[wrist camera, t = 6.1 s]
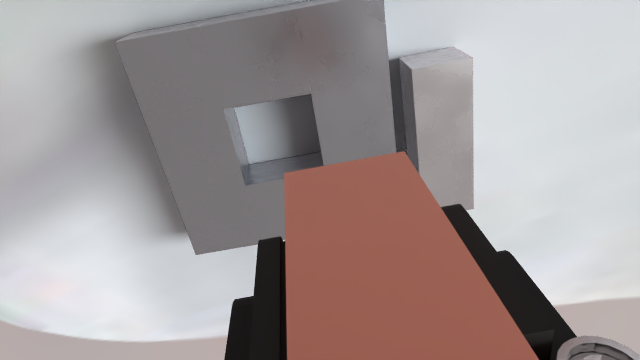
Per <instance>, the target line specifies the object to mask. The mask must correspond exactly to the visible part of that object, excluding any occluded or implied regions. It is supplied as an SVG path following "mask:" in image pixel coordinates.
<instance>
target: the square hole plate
mask: <svg viewBox="0 0 640 360" xmlns="http://www.w3.org/2000/svg"><path fill="white" fill-rule="evenodd" d="M115 45H116V48H117V50H118V53H119V55H120V58H121V61H122V63H123V66H124V68H125V71H126V74H127V76H128V79H129V81H130V84H131V87H132V89H133V92H134V95H135V97H136V100H137V102H138V105H139V108H140V110H141V113H142V115H143V118H144V121H145V123H146V126H147V128H148V131H149V134H150V136H151V139H152V142H153V144H154V147H155V149H156V152H157V155H158V157H159V160H160V162H161V165H162V168H163V170H164V173H165V175H166V178H167V181H168V183H169V186H170V189H171V191H172V194H173V196H174V199H175V202H176V204H177V207H178V209H179V212H180V215H181V217H182V220H183V222H184V225H185V228H186V230H187V233H188V236H189V238H190V241H191V243H192V246H193V249H194V251H195V254H196V255H198V254H204V253H210V252H216V251H221V250H227V249H233V248H239V247H245V246H250V245H256V244H258V241H259V240H262V239H268V238H273V237H279V236H281V237H282V240H285V192H284V173H287V172H292V171H298V170H303V169H309V168H314V167H320V166H325V165H331V164H336V163H342V162H347V161H353V160H359V159H364V158H370V157H375V156H381V155H386V154H392V153H396V143H395V131H394V119H393V107H392V95H391V83H390V72H389V60H388V48H387V36H386V24H385V12H384V0H309V1H304V2H298V3H293V4H288V5H282V6H277V7H271V8H266V9H260V10H255V11H249V12H244V13H239V14H233V15H228V16H222V17H217V18H211V19H206V20H200V21H195V22H189V23H184V24H179V25H173V26H168V27H162V28H157V29H151V30H146V31H140V32H135V33H132V34H130V35H128V36H126V37H124V38H122V39H120V40H118V41H116V42H115ZM307 94H311V97H312V102H313V108H314V114H315V119H316V125H317V131H318V136H319V142H320V147H321V152H318V153H312V154H307V155H301V156H295V157H290V158H284V159H278V160H273V161H267V162H261V163H256V164H250V165H249V162H248V158H247V154H246V151H245V147H244V143H243V140H242V136H241V132H240V129H239V125H238V121H237V118H236V114H235V110H234V107H240V106H246V105H251V104H257V103H262V102H268V101H273V100H279V99H285V98H290V97H296V96H301V95H307Z"/></svg>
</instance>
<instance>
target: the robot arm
mask: <svg viewBox="0 0 640 360" xmlns="http://www.w3.org/2000/svg"><path fill="white" fill-rule="evenodd" d="M441 209H442V210H443V212H444V213H445V215H446V216H447V218H448V220H449V221H450V223H451V224H452V226H453V227H454V229H455V230H456V232H457V234H458V235H459V237H460V238H461V240H462V241H463V243H464V244H465V246H466V247H467V249H468V251H469V252H470V254H471V255H472V257H473V258H474V260H475V261H476V263H477V264H478V266H479V268H480V269H481V271H482V272H483V274H484V275H485V277H486V278H487V280H488V282H489V283H490V285H491V286H492V288H493V289H494V291H495V292H496V294H497V295H498V297H499V299H500V300H501V302H502V303H503V305H504V306H505V308H506V309H507V311H508V312H509V314H510V316H511V317H512V319H513V320H514V322H515V323H516V325H517V326H518V328H519V330H520V331H521V333H522V334H523V336H524V337H525V339H526V340H527V342H528V343H529V345H530V347H531V348H532V350H533V351H534V353H535V354H536V356H537V357H538V359H539V360H640V355H639V354H637V353H636V352H635V351H633V350H632V349H630V348H629V347H627V346H625V345H622V344H620V343H618V342H616V341H614V340H610V339H606V338H602V337H598V336H581V337H577V336H576V335H575V334H574V333H573V331H572V330H571V329H570V327H569V326H568V325H567V324H566V322H565V321H564V320H563V318H562V317H561V316H560V315H559V313H558V312H557V311H556V310H555V308H554V307H553V306H552V305H551V303H550V302H549V301H548V299H547V298H546V297H545V296H544V294H543V293H542V292H541V291H540V289H539V288H538V287H537V286H536V284H535V283H534V282H533V280H532V279H531V278H530V277H529V275H528V274H527V273H526V272H525V270H524V269H523V268H522V267H521V265H520V264H519V263H518V262H517V260H516V259H515V258H514V256H513V255H512V254H511V253H510V252H508V251H506V250H504V251H499V252H496V250H495V249H494V247H493V246H492V245H491V243H490V242H489V241H488V239H487V238H486V237H485V235H484V234H483V233H482V231H481V230H480V229H479V227H478V226H477V225H476V223H475V222H474V221H473V219H472V218H471V217H470V215H469V214H468V213H467V211H466V210H465V209H464V207H463V206H462V205H461V204H455V205H449V206H443V207H441ZM225 360H287V320H286V256H285V241H284V242H283V240H282V237H281V236H279V237H273V238H268V239H262V240H259V241H258V250H257V263H256V275H255V287H254V296H251V297H245V298H240V299H235V300H234V302H233V305H232V310H231V317H230V324H229V331H228V338H227V345H226V353H225Z"/></svg>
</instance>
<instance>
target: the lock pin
mask: <svg viewBox="0 0 640 360" xmlns="http://www.w3.org/2000/svg"><path fill="white" fill-rule="evenodd" d="M284 192H285V256H286V320H287V360H539V359H538V357H537V356H536V354H535V353H534V351H533V350H532V348H531V347H530V345H529V343H528V342H527V340H526V339H525V337H524V336H523V334H522V333H521V331H520V330H519V328H518V326H517V325H516V323H515V322H514V320H513V319H512V317H511V316H510V314H509V312H508V311H507V309H506V308H505V306H504V305H503V303H502V302H501V300H500V299H499V297H498V295H497V294H496V292H495V291H494V289H493V288H492V286H491V285H490V283H489V282H488V280H487V278H486V277H485V275H484V274H483V272H482V271H481V269H480V268H479V266H478V264H477V263H476V261H475V260H474V258H473V257H472V255H471V254H470V252H469V251H468V249H467V247H466V246H465V244H464V243H463V241H462V240H461V238H460V237H459V235H458V234H457V232H456V230H455V229H454V227H453V226H452V224H451V223H450V221H449V220H448V218H447V216H446V215H445V213H444V212H443V210H442V209H441V207H440V206H439V204H438V203H437V201H436V199H435V198H434V196H433V195H432V193H431V192H430V190H429V189H428V187H427V185H426V184H425V182H424V181H423V179H422V178H421V176H420V175H419V173H418V172H417V170H416V168H415V167H414V165H413V164H412V162H411V161H410V159H409V158H408V156H407V155H406V153H405V151H403V152H397V153H392V154H386V155H381V156H375V157H370V158H364V159H359V160H353V161H347V162H342V163H336V164H331V165H325V166H320V167H314V168H309V169H303V170H298V171H292V172H287V173H284Z"/></svg>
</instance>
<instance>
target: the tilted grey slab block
mask: <svg viewBox="0 0 640 360" xmlns="http://www.w3.org/2000/svg"><path fill="white" fill-rule="evenodd" d="M399 65H400V76H401V88H402V99H403V111H404V122H405V134H406V145H407V156H408V158H409V159H410V161H411V162H412V164H413V165H414V167H415V168H416V170H417V172H418V173H419V175H420V176H421V178H422V179H423V181H424V182H425V184H426V185H427V187H428V189H429V190H430V192H431V193H432V195H433V196H434V198H435V199H436V201H437V203H438V204H439V206H440V207H443V206H449V205H455V204H461V205H462V206H463V207H464V209H465V210H469V209H474V205H473V57H471V56H469V55H467V54H466V53H464V52H462V51H460V50H458V49H457V48H455V47H449V48H444V49H438V50H433V51H428V52H423V53H418V54H413V55H408V56H403V57H399Z"/></svg>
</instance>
